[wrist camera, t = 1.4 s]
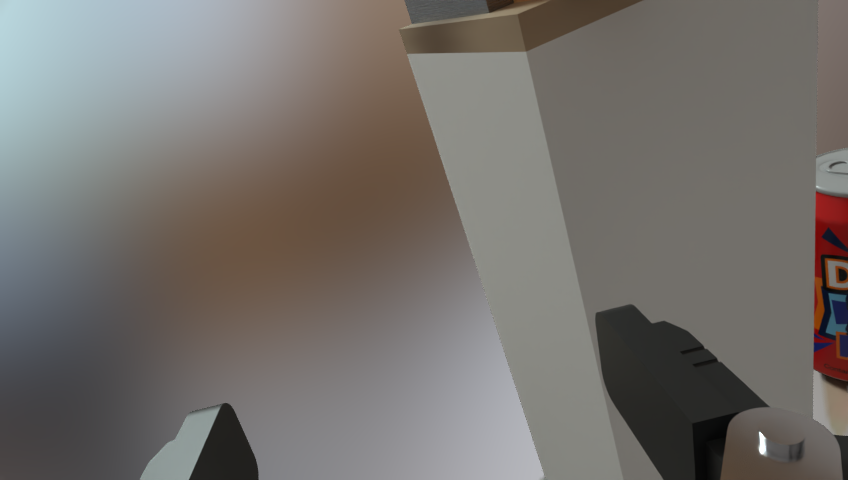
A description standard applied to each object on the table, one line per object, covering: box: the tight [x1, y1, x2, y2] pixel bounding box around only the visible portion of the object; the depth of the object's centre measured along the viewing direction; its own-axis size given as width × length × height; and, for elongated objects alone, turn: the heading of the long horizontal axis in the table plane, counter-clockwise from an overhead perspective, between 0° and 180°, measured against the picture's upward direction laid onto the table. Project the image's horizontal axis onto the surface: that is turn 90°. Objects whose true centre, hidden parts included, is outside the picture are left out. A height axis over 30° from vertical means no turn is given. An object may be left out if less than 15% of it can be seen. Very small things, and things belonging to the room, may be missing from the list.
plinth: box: [399, 0, 818, 480], centre depth 22 cm, size 7×10×32 cm
